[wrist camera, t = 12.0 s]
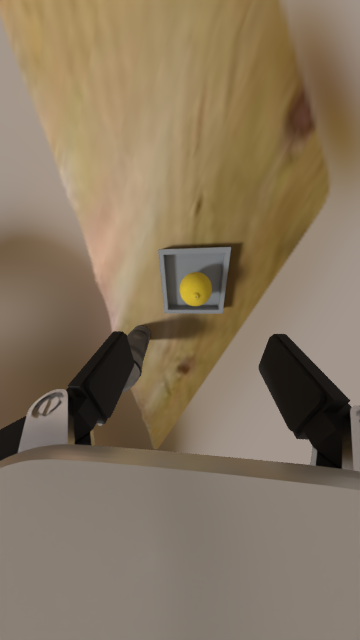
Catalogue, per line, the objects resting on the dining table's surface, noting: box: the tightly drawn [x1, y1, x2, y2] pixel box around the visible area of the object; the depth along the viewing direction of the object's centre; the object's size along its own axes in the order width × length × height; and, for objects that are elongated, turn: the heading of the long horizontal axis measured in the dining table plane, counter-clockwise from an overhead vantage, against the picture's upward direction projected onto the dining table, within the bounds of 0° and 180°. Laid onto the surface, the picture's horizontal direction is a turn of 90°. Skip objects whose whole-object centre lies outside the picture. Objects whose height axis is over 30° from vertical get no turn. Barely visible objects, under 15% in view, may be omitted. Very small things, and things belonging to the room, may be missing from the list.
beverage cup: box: [98, 326, 151, 426], centre depth 26 cm, size 7×7×20 cm
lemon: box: [180, 272, 212, 306], centre depth 24 cm, size 6×6×8 cm
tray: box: [158, 247, 231, 313], centre depth 27 cm, size 12×12×2 cm
